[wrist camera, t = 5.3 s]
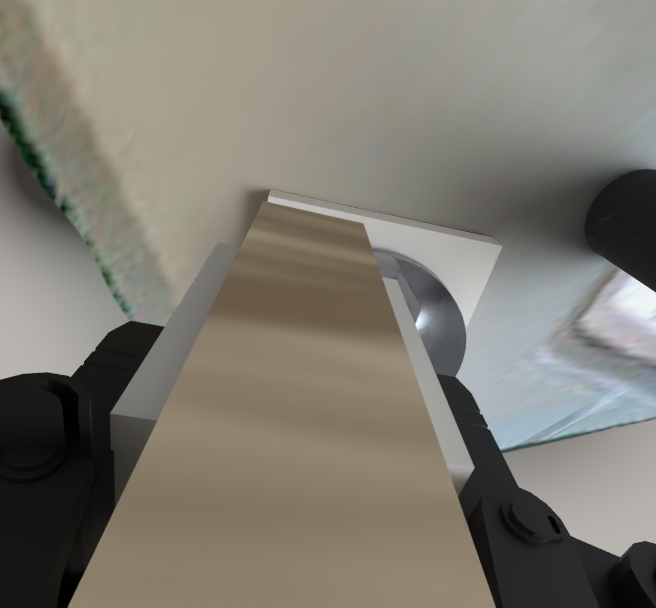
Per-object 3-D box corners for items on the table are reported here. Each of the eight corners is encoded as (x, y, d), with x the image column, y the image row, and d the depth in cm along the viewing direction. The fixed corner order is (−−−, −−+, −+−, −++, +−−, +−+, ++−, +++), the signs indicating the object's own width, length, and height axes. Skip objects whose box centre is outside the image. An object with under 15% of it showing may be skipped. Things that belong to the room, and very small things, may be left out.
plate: (271, 189, 31) (267, 197, 28) (493, 237, 33) (505, 248, 31) (242, 376, 39) (237, 393, 37) (421, 404, 41) (426, 422, 39)
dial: (284, 224, 29) (279, 248, 25) (491, 267, 31) (518, 295, 27) (254, 396, 37) (246, 437, 33) (422, 422, 39) (434, 464, 35)
